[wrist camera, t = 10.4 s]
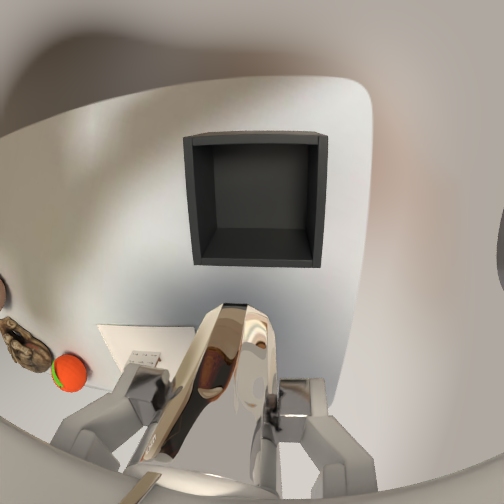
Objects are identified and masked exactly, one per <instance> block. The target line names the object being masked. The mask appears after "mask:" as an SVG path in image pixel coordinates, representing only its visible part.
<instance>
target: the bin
mask: <svg viewBox="0 0 504 504" xmlns="http://www.w3.org/2000/svg"><path fill="white" fill-rule="evenodd" d="M183 146H184V162H185V177H186V190H187V202H188V213H189V223H190V233H191V243H192V252H193V261H194V265H212V266H249V267H295V268H320V267H321V257H322V246H323V233H324V219H325V204H326V185H327V160H328V136H326V135H323V134H320V133H317V132H307V131H228V132H208V133H203V134H198V135H193V136H188V137H184V138H183Z"/></svg>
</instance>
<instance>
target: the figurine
mask: <svg viewBox="0 0 504 504" xmlns="http://www.w3.org/2000/svg"><path fill="white" fill-rule="evenodd" d="M0 331H1V334H2V336H3V339H4V341H5V343H6V345H7V346H8V351H9V352H10V354H11V356H12V358H13V360H14V362H15V363H17V362H18V363H19V364H20V365H21V366H22V367H23V368H26V369H28V370H30V371H33V372H36V373H42V372H45V371H47V370H48V369H49V368H50V366H51V361H52V360H51V354H50V352H49V350H48V349H47V347H46V346H45V345H44V344H43V343H42V342H40V341H38V340H37V339H35V338H33V337H32V336H31V334H30V333H29V332H27V331H25V330H24V329H22V328H21V327H20V326H19V325H18V324H17V323H16V322H15V321H13V320H11V318H9V317H6V318H4V319H0ZM13 331H15V332H16V333H20V334H21V335H22V337H23V338H24V339H23V338H22V337H20V336H18V335H16V334H15V333H14V332H13Z"/></svg>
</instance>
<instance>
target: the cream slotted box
mask: <svg viewBox="0 0 504 504" xmlns="http://www.w3.org/2000/svg"><path fill="white" fill-rule="evenodd" d="M161 354H162V353H161V352H160V351H145V350H143V351H142V350H132V351H131V353H130V355H129V357H128V358H127V360H126V362H125V364H124V365H125V366H127V365H128V364H129V363H135V364H140V365H146V366H151V367H157V366H158V364H159V363H161V362H162V360H161V357H160V356H161Z"/></svg>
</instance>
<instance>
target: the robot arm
mask: <svg viewBox="0 0 504 504" xmlns="http://www.w3.org/2000/svg"><path fill="white" fill-rule="evenodd" d="M169 378H170V374H169V371H168V370H167V369H162V368H156V367H151V366H146V365H140V364H135V363H129V364H128V365H127V366H126V368H125V370H124V371H123V373H122V375H121V377H120V379H119V381H118V383H117V384H116V386H115V388H114V390H113V392H112V393H107V394H106V395H104V396H103V397H101V398H99V399H97V400H96V401H94V402H93V403H91V404H89V405H87V406H86V407H84V408H82V409H80V410H79V411H77V412H75V413H74V414H72V415H70V416H68V417H67V418H65V419H63V421H62V423H61V425H60V426H59V428H58V430H57V432H56V433H55V435H54V437H53V439H52V441H51V443H50V444H48V443H47V442H45V441H42V440H41V439H39V438H37V437H35V436H33V435H31V434H29V433H28V432H26V431H24V430H22V429H20V428H19V427H17V426H16V425H14V424H12V423H11V422H9V421H7V420H6V419H4V418H2V417H1V416H0V504H118V503H119V502H120V501H121V500H122V499H123V498H124V497H125V496H126V495H127V494H128V492H129V491H130V490H131V489H132V488H133V487H134V486H135V485H136V484H137V482H138V481H139V480H140V479H139V478H136V477H132V476H129V475H126V474H123V473H120V472H118V469H119V467H120V464H119V462H118V460H117V459H116V458H115V457H114V456H113V455H112V452H113V451H114V450H116V449H117V448H118V447H119V446H120V445H122V444H123V443H124V442H125V441H127V440H128V439H129V438H130V437H131V436H133V435H134V434H135V433H136V432H137V431H138V430H140V429H141V428H142V427H143V426H149V424H150V422H151V420H152V418H153V417H154V415H155V413H156V411H157V409H158V407H159V406H160V404H161V402H162V400H163V398H164V396H165V394H166V392H167V390H168V388H169V386H170V384H171V382H170V381H169ZM278 433H279V442H298V443H301V445H302V447H303V448H304V450H305V451H306V452H307V454H308V455H309V457H310V458H311V460H312V461H313V462H314V464H315V465H316V467H317V468H318V470H319V471H320V474H319V476H318V478H317V480H316V482H315V484H314V486H313V488H312V490H311V499H260V498H245V497H230V496H215V497H210V496H199V495H193V494H188V493H184V492H180V491H176V490H172V489H168V488H165V487H162V486H159V485H156V484H155V485H154V486H153V487H152V489H151V490H150V491H149V492H148V494H147V495H146V496H145V497H144V498H143V500H142V501H141V502H140V503H139V504H504V453H502V454H500V455H498V456H496V457H493V458H491V459H488V460H486V461H484V462H481V463H479V464H476V465H474V466H471V467H469V468H466V469H463V470H461V471H458V472H455V473H452V474H449V475H445V476H443V477H439V478H436V479H432V480H429V481H425V482H421V483H417V484H413V485H410V486H405V487H400V488H396V489H391V490H385V491H380V492H378V488H377V480H376V473H375V466H374V460H373V458H372V457H371V456H370V455H369V454H368V452H366V450H365V449H364V448H363V447H362V446H361V445H360V444H359V443H358V442H357V441H356V440H355V439H354V438H353V437H352V436H351V435H350V434H349V433H348V432H347V431H346V430H345V429H344V427H342V425H341V424H340V423H339V422H338V421H337V420H336V419H335V418H334V417H333V416H328V408H327V399H326V390H325V381H324V379H323V378H309V379H308V378H280V383H279V399H278Z"/></svg>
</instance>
